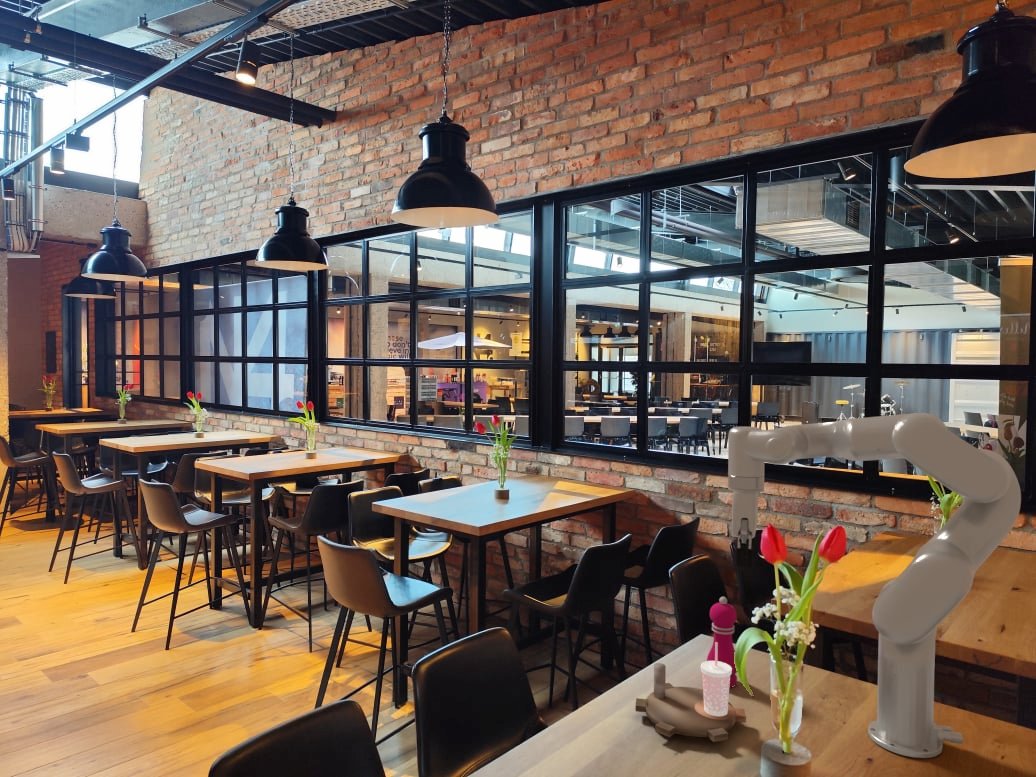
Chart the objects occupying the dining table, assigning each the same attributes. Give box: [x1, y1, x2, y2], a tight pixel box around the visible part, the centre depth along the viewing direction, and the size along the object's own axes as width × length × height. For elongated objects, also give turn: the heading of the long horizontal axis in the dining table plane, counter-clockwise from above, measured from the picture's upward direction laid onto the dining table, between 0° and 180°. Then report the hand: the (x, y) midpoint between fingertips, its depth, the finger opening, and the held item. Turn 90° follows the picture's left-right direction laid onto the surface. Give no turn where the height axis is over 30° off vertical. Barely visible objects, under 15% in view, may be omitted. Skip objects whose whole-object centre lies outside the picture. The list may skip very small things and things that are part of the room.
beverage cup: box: [700, 642, 732, 716], centre depth 138 cm, size 6×6×14 cm
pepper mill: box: [706, 596, 738, 687], centre depth 157 cm, size 7×7×20 cm
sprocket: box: [635, 662, 747, 743], centre depth 140 cm, size 22×20×8 cm
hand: (745, 560), depth 150 cm, fingers open, 9 cm apart
